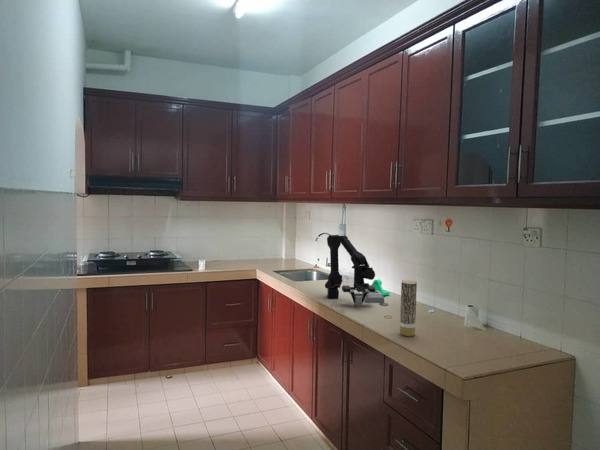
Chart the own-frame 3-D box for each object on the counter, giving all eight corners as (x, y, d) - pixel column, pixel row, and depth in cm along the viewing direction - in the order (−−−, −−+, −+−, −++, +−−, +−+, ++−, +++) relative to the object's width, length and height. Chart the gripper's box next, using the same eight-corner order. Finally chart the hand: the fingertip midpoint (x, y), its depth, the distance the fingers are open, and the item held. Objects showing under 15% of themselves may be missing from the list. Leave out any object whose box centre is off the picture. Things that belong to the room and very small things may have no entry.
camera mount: (390, 295, 263) (390, 280, 263) (382, 297, 259) (382, 281, 258) (377, 292, 273) (377, 277, 272) (368, 293, 269) (369, 278, 268)
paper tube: (417, 334, 188) (419, 281, 186) (410, 337, 183) (411, 283, 182) (404, 330, 193) (406, 279, 191) (397, 334, 188) (398, 280, 186)
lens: (355, 306, 234) (355, 295, 234) (353, 304, 239) (353, 293, 238) (362, 306, 235) (363, 295, 234) (361, 304, 239) (361, 293, 239)
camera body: (366, 302, 244) (366, 293, 244) (363, 299, 252) (363, 290, 252) (384, 302, 245) (384, 293, 245) (380, 299, 253) (380, 290, 253)
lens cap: (380, 306, 238) (380, 305, 238) (379, 303, 243) (379, 302, 243) (388, 306, 237) (389, 305, 237) (387, 304, 242) (387, 302, 242)
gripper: (345, 279, 227) (345, 307, 228) (378, 279, 228) (377, 306, 229) (342, 275, 238) (341, 302, 239) (373, 275, 239) (372, 301, 240)
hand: (358, 303), depth 237 cm, fingers closed on lens, 4 cm apart
